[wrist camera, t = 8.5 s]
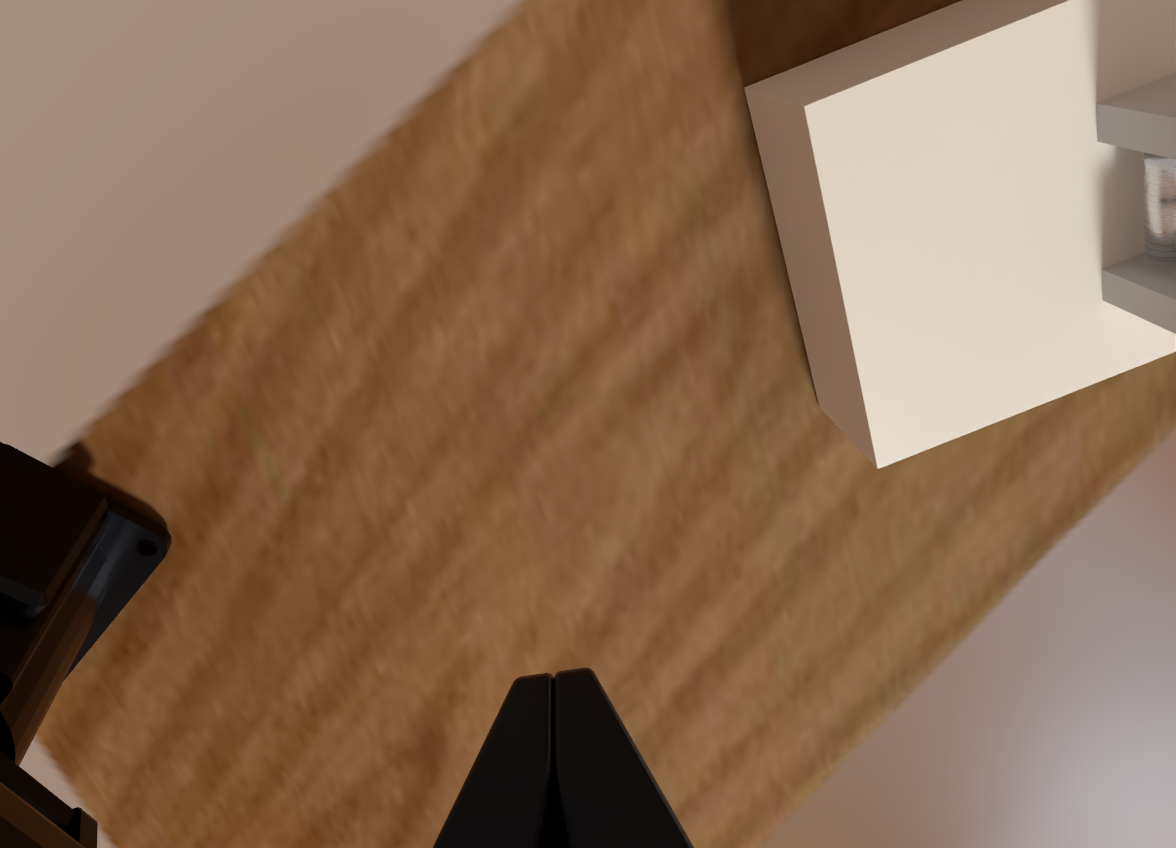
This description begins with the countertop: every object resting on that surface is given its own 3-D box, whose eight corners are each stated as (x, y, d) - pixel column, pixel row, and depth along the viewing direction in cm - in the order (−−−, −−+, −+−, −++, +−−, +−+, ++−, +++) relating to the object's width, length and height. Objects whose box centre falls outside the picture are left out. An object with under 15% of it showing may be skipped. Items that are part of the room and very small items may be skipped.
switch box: (819, 407, 24) (931, 525, 18) (744, 87, 19) (863, 124, 14) (1283, 223, 24) (1527, 290, 18) (1312, -141, 19) (1646, -189, 14)
